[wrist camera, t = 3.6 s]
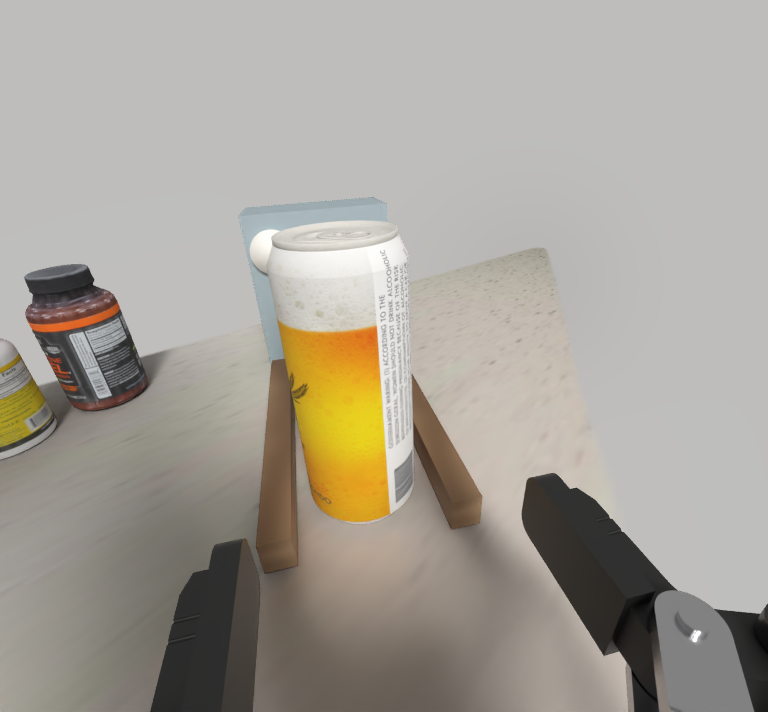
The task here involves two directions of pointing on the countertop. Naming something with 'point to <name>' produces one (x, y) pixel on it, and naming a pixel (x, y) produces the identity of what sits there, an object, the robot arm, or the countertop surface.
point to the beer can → (348, 361)
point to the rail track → (280, 472)
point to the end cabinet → (273, 219)
